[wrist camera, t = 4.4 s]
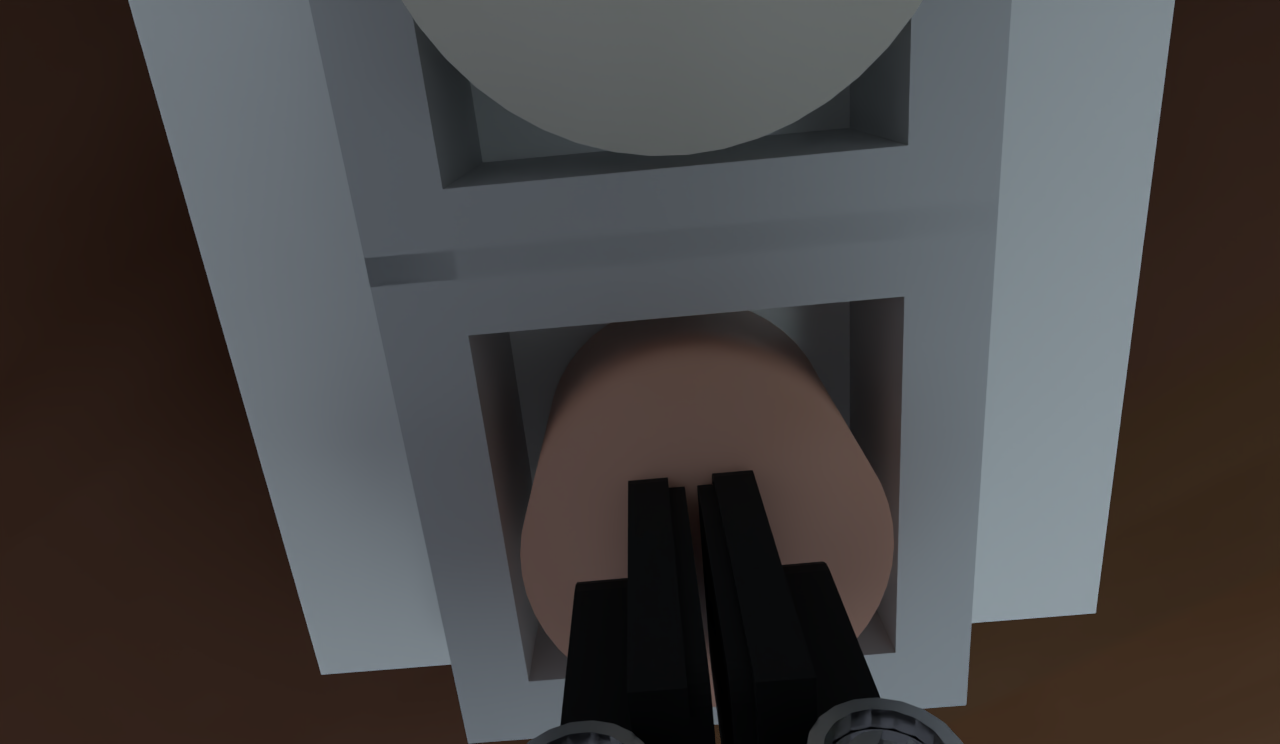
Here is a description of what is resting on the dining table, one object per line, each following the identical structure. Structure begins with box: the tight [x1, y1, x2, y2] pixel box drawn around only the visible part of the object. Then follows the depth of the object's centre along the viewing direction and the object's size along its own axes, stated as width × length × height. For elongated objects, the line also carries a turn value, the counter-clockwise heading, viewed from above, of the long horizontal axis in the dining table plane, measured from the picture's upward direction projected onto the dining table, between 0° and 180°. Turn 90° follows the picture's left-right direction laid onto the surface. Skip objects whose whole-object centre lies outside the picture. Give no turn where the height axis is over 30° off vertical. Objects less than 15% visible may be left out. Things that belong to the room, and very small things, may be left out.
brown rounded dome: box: [520, 311, 894, 707], centre depth 13 cm, size 5×5×4 cm
